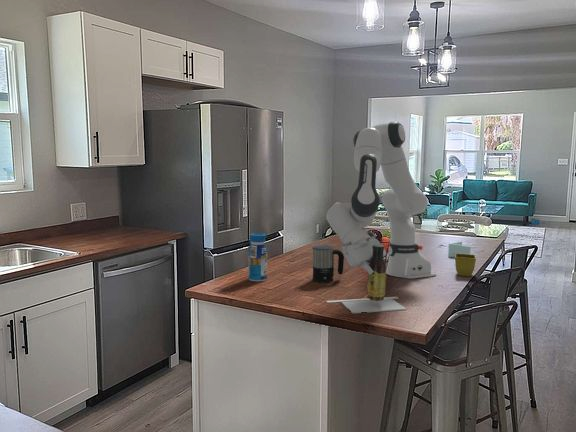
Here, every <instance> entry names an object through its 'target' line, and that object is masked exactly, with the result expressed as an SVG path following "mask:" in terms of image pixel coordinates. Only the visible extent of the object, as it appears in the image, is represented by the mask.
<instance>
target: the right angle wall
mask: <svg viewBox="0 0 576 432" xmlns="http://www.w3.org/2000/svg"><path fill="white" fill-rule="evenodd" d="M471 249H472V248H471V246H470V245H468V246H467V245H463V240H460V241H454V242H450V243H448V251H447V252H448V254H447V256H448V258H449V257H450V258H454V259H455V254H470V255H472V254H471Z"/></svg>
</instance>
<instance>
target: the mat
mask: <svg viewBox="0 0 576 432" xmlns="http://www.w3.org/2000/svg"><path fill="white" fill-rule="evenodd" d="M341 304H342V305H343V306H344V307H345V308H346V309H347V310H348V309H349V310H350V311H351V312H350V313H351V314H362V313H361V312H367V313H377V312H378V313H379V312H393V311H407V308H406V307H405V306H403V305H401V303H398V302H397V301H395V299H384V300H382V301H372V300H368V301H352V302H341ZM349 310H348V311H349Z"/></svg>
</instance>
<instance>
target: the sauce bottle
mask: <svg viewBox="0 0 576 432" xmlns="http://www.w3.org/2000/svg"><path fill="white" fill-rule="evenodd" d="M372 249H373V255H372V259H371V261H370V263H368V265H369V266H370V267H372V268H373V269H374V270H375V272H374V273H373V274H369V273H368V272H367V293H366V294H367V298H368V299H370V300H372V301H382V300H383V299H384V297H385V295H386V279H387V277H386V275H387V274H386V270H387V264H386V262H385V260H384V257H383V250H384V249H385V246H384V244H381V245H379V244H375V245H373V247H372Z"/></svg>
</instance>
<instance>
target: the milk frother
mask: <svg viewBox="0 0 576 432" xmlns="http://www.w3.org/2000/svg"><path fill="white" fill-rule="evenodd" d="M311 248H312V279H311V280H312V281H313V282H315V283H321V284H322V283H323V284H324V283H325V284H326V283H331V282H333V281H334V276H335V275H334V274H335V273H334V272H335V267H334V260H335V259H334V258H335V257H334V255H337V256H338V258H337V259H338V260H337V261H338V262H337V273H338V274H339V275H343V273H344V262H345V261H344V260H345V256H344V254H343V251H341V250H339V249H338V248H337V249H335V248H334V246H332V245H328V244H327V245H326V244H325V245H324V244H318V245H313V246H312V247H311Z"/></svg>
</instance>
